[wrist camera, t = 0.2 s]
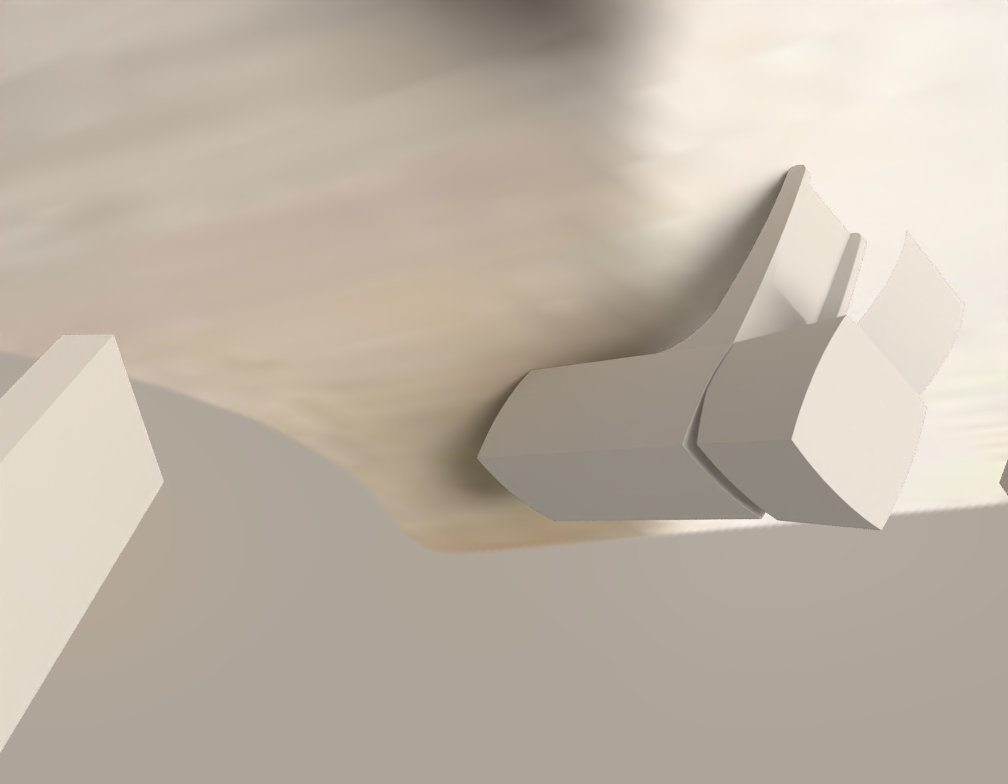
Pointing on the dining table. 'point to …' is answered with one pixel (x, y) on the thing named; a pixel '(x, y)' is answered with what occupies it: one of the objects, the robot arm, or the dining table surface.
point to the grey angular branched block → (746, 395)
